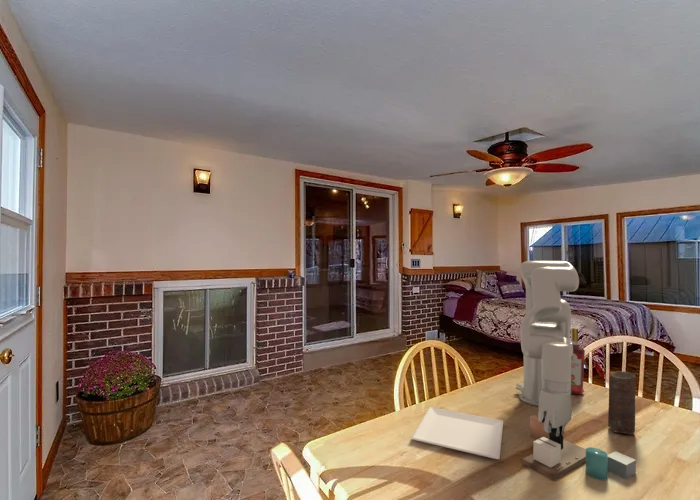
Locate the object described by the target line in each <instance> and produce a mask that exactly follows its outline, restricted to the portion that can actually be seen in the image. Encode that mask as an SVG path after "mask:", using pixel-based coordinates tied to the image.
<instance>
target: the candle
mask: <svg viewBox="0 0 700 500" xmlns="http://www.w3.org/2000/svg"><path fill="white" fill-rule="evenodd" d="M608 376H609V378H608V379H609V380H608V381H609V382H608V413H607V426H608V427H609V428H610V429H611V430H612V431H613V432H615V433H620V434H626V435H627V434H629V435H631V434H635V432H636V380H637V379H636V378H637V377H636V374H634V373H633V372H632V373H631V372H629V371H624V370H623V371H622V370H617V371H610V372H609V375H608Z"/></svg>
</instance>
